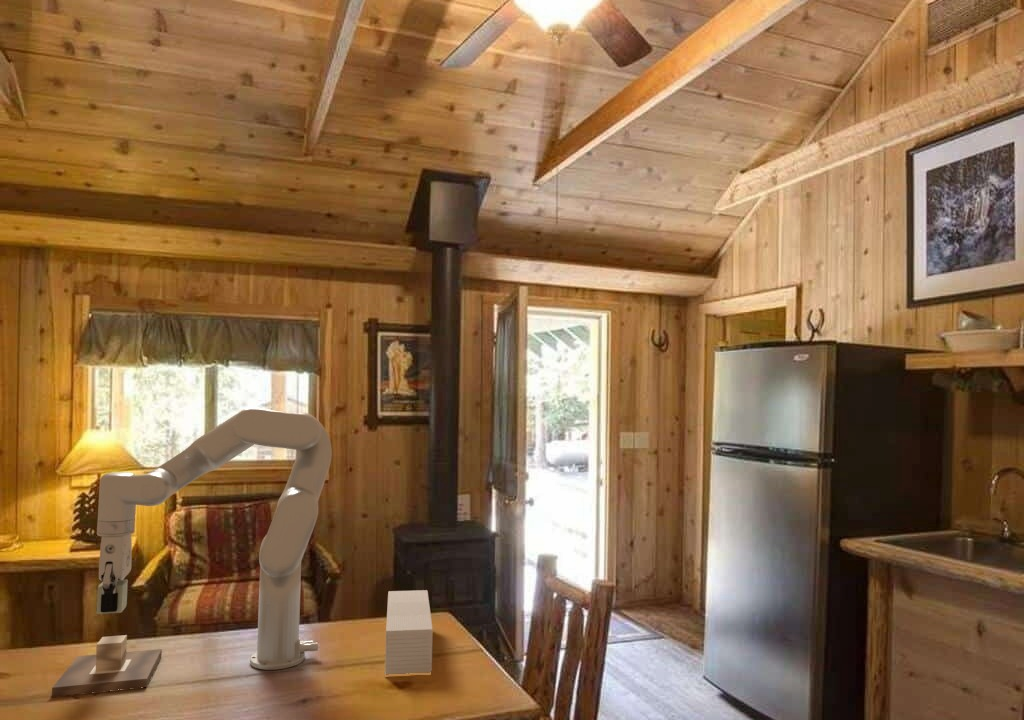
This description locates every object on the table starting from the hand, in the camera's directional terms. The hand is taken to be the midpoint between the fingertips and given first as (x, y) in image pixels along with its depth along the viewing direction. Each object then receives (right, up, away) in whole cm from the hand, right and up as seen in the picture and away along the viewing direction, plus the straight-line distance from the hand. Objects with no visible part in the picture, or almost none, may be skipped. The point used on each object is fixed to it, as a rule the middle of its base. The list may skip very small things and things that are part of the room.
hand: (112, 606), depth 159 cm
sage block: (0, -1, 0) cm, 1 cm away
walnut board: (0, -15, -1) cm, 16 cm away
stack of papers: (+65, -18, +18) cm, 69 cm away
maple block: (0, -13, -1) cm, 13 cm away
